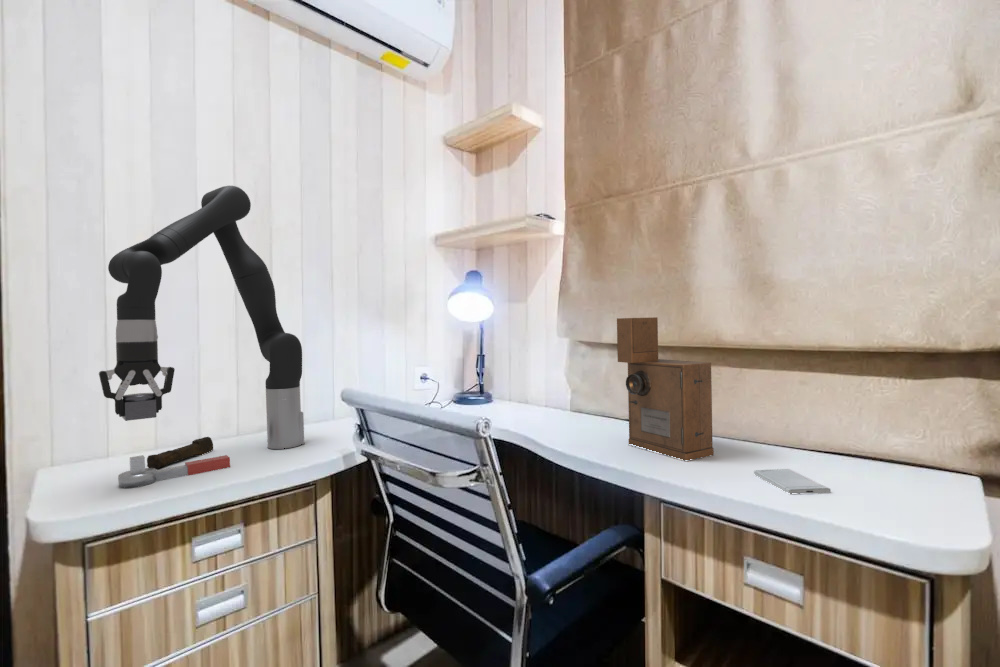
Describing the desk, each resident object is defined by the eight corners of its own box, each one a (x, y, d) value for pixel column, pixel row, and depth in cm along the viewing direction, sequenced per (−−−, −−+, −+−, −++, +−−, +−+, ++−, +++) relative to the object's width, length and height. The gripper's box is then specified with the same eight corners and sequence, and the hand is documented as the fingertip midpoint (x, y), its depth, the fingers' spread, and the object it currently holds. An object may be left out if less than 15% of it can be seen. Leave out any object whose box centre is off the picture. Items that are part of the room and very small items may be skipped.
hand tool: (158, 471, 121) (157, 452, 121) (145, 470, 122) (145, 451, 122) (220, 451, 139) (220, 435, 139) (209, 451, 141) (209, 435, 140)
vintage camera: (617, 447, 132) (615, 318, 131) (655, 440, 139) (652, 317, 138) (674, 464, 115) (671, 316, 115) (713, 455, 122) (711, 315, 121)
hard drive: (753, 470, 106) (789, 488, 94) (790, 468, 106) (830, 487, 94) (753, 477, 106) (789, 497, 94) (790, 476, 106) (830, 495, 94)
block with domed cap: (152, 414, 114) (152, 392, 114) (157, 417, 110) (156, 394, 110) (121, 417, 110) (121, 394, 110) (124, 420, 106) (124, 397, 106)
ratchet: (224, 463, 126) (224, 440, 126) (232, 468, 121) (231, 444, 121) (117, 483, 111) (116, 457, 111) (120, 490, 106) (119, 463, 106)
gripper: (171, 339, 118) (173, 408, 118) (94, 341, 108) (96, 416, 108) (178, 339, 112) (179, 412, 112) (97, 341, 102) (99, 421, 103)
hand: (139, 414), depth 110 cm, fingers closed on block with domed cap, 5 cm apart
